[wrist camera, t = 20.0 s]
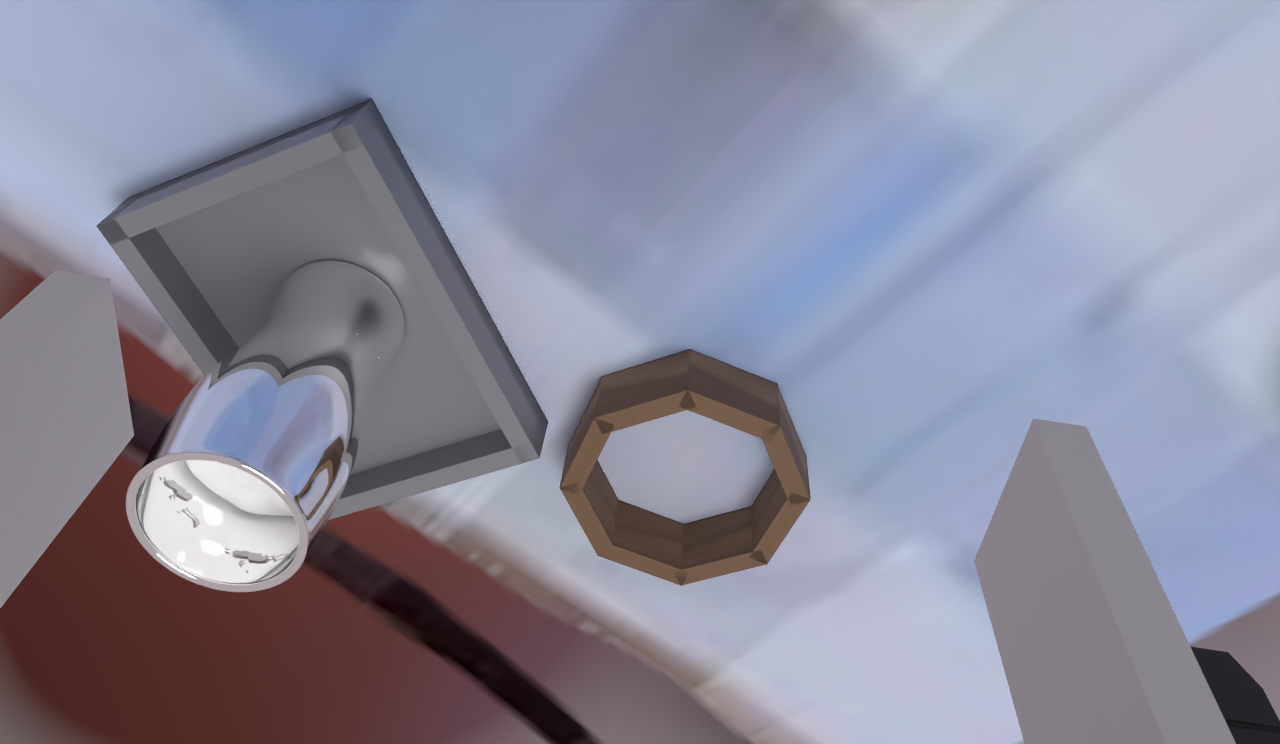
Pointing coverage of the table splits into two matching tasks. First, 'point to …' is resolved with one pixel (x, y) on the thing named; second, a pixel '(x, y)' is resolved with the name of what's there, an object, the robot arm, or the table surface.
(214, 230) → the tray
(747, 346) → the table surface
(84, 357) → the robot arm
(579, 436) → the ring holder
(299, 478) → the beer glass
